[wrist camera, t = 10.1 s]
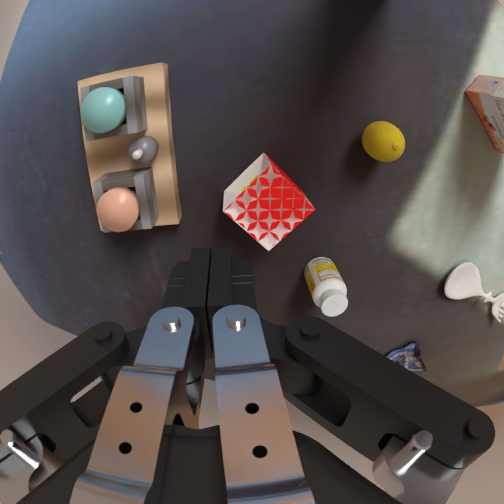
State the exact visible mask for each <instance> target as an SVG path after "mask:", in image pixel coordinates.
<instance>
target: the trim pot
mask: <svg viewBox="0 0 504 504" xmlns="http://www.w3.org/2000/svg"><path fill="white" fill-rule="evenodd" d="M158 151H159V145H158V142H157V141H156V139H154V138H153V137H151V136H144V137H142V138H140V139H138V140H136V141H134V142H133V143H132V144H131V145H130V147H129V152H128V153H129V157H130V159H131V161H132V162H134V163H135V164H138V165H144V164H147V163H148V162H149V161H151V160H152V159H153V158H154V157H155V156H156V155H157V153H158Z"/></svg>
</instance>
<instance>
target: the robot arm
mask: <svg viewBox="0 0 504 504" xmlns="http://www.w3.org/2000/svg"><path fill="white" fill-rule="evenodd" d="M213 352H214V358H215V364H216V370H215V379H216V391H217V403H218V414H219V424H220V425H217V426H213V427H208V428H204V429H199V414H200V406H201V399H202V392H203V385H204V378H205V375H204V368H205V359H207V358H213ZM99 376H100V377H101V379H102V381H101V382H100V383H98V384H97V385H96V386H94V387H93V388H92V389H91V390H89V391H88V392H87V393H85V394H84V395H83V396H81V397H80V398H79V399H77V400H76V401H74V402H71V399H72V398H73V396H74V395H75V394H77V393H78V392H79V391H81V390H82V389H83V388H85V387H86V386H87V385H89V384H90V383H91V382H93V381H94V380H95V379H97V378H98V377H99ZM284 397H285V398H286V399H287V400H288V401H289V402H291V403H292V404H293V405H294V406H296V407H297V408H298V409H300V410H301V411H302V412H304V413H305V414H306V415H308V416H309V417H310V418H311V419H313V420H314V421H315V422H317V423H318V424H320V425H321V426H322V427H324V428H325V429H326V430H328V431H329V432H330V433H332V434H333V435H335V436H336V437H337V438H339V439H341V440H342V441H343V442H345V443H346V444H347V445H349V446H350V447H352V448H353V449H355V450H356V451H358V452H359V453H361V454H362V455H364V456H365V457H367V458H368V459H370V460H371V461H373V462H374V463H373V467H372V472H373V476H374V478H375V480H376V481H377V483H378V484H379V485H381V486H382V487H383V488H384V489H385V491H386V492H385V491H383V490H382V489H380V488H379V487H377V486H376V485H375V484H373V483H372V482H370V481H369V480H368V479H366V478H365V477H363V476H362V475H361V474H359V473H358V472H357V471H355V470H354V469H353V468H351V467H350V466H349V465H347V464H346V463H345V462H343V461H342V460H340V459H339V458H338V457H337V456H335V455H334V454H333V453H332V452H330V451H329V450H328V449H327V448H325V447H324V446H323V445H321V444H320V443H319V442H317V441H316V440H314V439H312V438H310V437H308V436H306V435H304V434H302V433H299V432H296V431H293V430H292V427H291V423H290V419H289V416H288V412H287V408H286V404H285V400H284ZM70 402H71V403H70ZM494 438H495V429H494V425H493V422H492V421H491V419H490V418H489V416H487V415H486V414H485V413H484V412H482V411H480V410H478V409H477V408H475V407H473V406H471V405H470V404H468V403H466V402H464V401H462V400H461V399H459V398H457V397H455V396H454V395H452V394H450V393H448V392H446V391H445V390H443V389H441V388H439V387H438V386H436V385H434V384H432V383H431V382H429V381H427V380H425V379H424V378H422V377H420V376H418V375H417V374H415V373H413V372H411V371H410V370H408V369H406V368H404V367H403V366H401V365H399V364H397V363H396V362H394V361H392V360H391V359H389V358H387V357H385V356H384V355H382V354H380V353H379V352H377V351H375V350H373V349H372V348H370V347H368V346H367V345H365V344H363V343H362V342H360V341H358V340H356V339H355V338H353V337H351V336H350V335H348V334H346V333H345V332H343V331H341V330H340V329H338V328H336V327H335V326H333V325H331V324H330V323H328V322H326V321H325V320H323V319H320V318H317V317H311V316H306V317H300V318H297V319H295V320H293V321H292V322H290V323H289V325H288V326H287V327H286V326H280V325H275V324H272V323H269V322H267V321H266V320H264V319H263V318H262V317H261V316H260V315H259V314H258V312H257V308H256V299H255V291H254V283H253V274H252V266H251V265H250V264H249V263H248V261H247V260H246V259H232V255H231V247H214V248H212V250H211V248H193V249H192V251H191V256H190V261H185V262H179V263H178V264H177V265H176V266H175V267H174V268H173V269H172V271H171V275H170V279H169V282H168V287H167V290H166V294H165V298H164V302H163V305H162V309H161V310H159V311H158V312H156V313H155V314H154V315H153V316H152V317H151V319H150V321H149V323H148V326H147V327H144V328H142V329H138V330H134V331H129V332H125V331H124V329H123V327H122V326H121V325H119V324H118V323H115V322H102V323H99V324H96V325H94V326H93V327H91V328H90V329H88V330H87V331H85V332H84V333H82V334H81V335H79V336H78V337H77V338H75V339H73V340H72V341H71V342H69V343H68V344H66V345H65V346H63V347H62V348H60V349H59V350H57V351H56V352H55V353H53V354H52V355H50V356H49V357H47V358H46V359H44V360H43V361H42V362H40V363H39V364H37V365H36V366H34V367H33V368H32V369H30V370H29V371H27V372H26V373H25V374H23V375H22V376H20V377H19V378H18V379H16V380H15V381H13V382H12V383H10V384H9V385H8V386H6V387H5V388H3V389H2V390H1V391H0V501H1V503H2V504H445V503H446V501H447V500H448V498H449V496H450V495H451V493H452V491H453V490H454V488H455V486H456V484H457V482H458V480H459V479H460V477H461V475H462V473H463V471H464V469H465V468H466V467H468V466H469V465H470V464H471V463H472V462H474V461H475V460H476V459H477V458H478V457H480V456H481V455H482V454H483V453H485V452H486V451H487V450H488V449H489V448H490V447H491V445H492V444H493V441H494Z"/></svg>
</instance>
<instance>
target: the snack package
mask: <svg viewBox="0 0 504 504" xmlns="http://www.w3.org/2000/svg"><path fill="white" fill-rule="evenodd" d="M402 354H403V355H405V356H406V363H405V368H407V369H408V370H410V371H425V372H426V367H425V365H424V363H423V361H422V359H421V357H420V349H419V347H418V344H417V343H416V342H415V341H413V342H412V343H410V344H409V345H408V346H406V347H404V348H399V347H398V348H396V349H394V350H392V351H390V352H389V353H388V354H386V355H385V357H387V358H389V359H391V360H392V361H394V362H396V363H397V364H399V365H401V366H402V360H401V359H399V357H400V356H401V355H402Z"/></svg>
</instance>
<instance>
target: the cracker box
mask: <svg viewBox="0 0 504 504" xmlns="http://www.w3.org/2000/svg"><path fill="white" fill-rule="evenodd" d="M465 92H466V94H467V96H468V97H469V99H470V101H471V102H472V104H473V106H474V108H475V109H476V111H477V113H478V115H479V117H480V119H481V120H482V122H483V124H484V126H485V128H486V130H487V132H488V134H489V136H490V138H491V140H492V142H493V145H494V147H495V149H496V150H497V151H500V152H502V153H504V78H500V77H492V76H483V75H479V76H478V77H477V78H476V79H475V80H474V82H473V83H472V84H471V85H470V86H469V87H468V89H467V90H466V91H465Z"/></svg>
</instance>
